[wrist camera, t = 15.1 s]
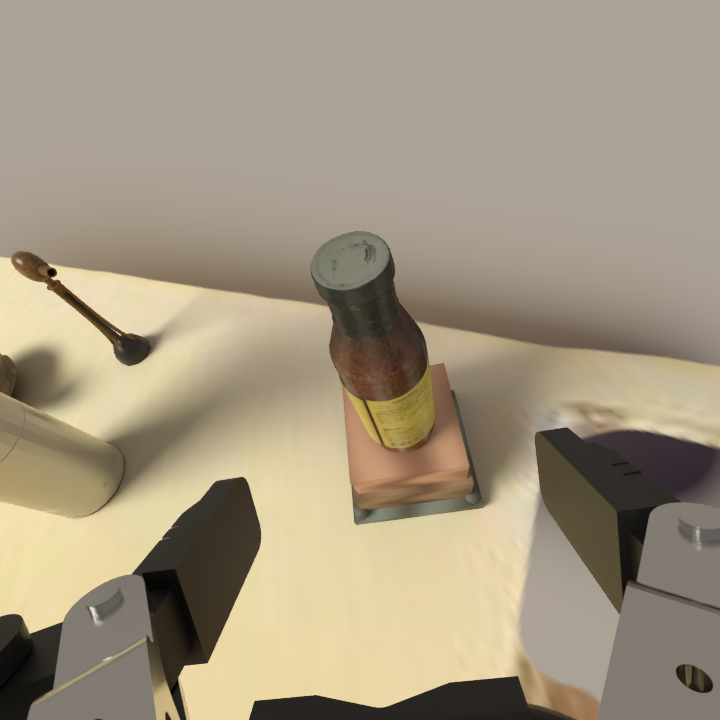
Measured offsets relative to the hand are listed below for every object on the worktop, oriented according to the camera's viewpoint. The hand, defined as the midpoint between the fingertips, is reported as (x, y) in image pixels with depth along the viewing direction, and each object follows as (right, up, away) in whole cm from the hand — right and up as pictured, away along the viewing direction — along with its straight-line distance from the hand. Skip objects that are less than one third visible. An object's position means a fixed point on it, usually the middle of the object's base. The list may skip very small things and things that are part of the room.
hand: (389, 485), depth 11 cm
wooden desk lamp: (-35, +4, +49) cm, 60 cm away
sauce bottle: (+3, -2, +25) cm, 25 cm away
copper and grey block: (+5, -7, +33) cm, 34 cm away
